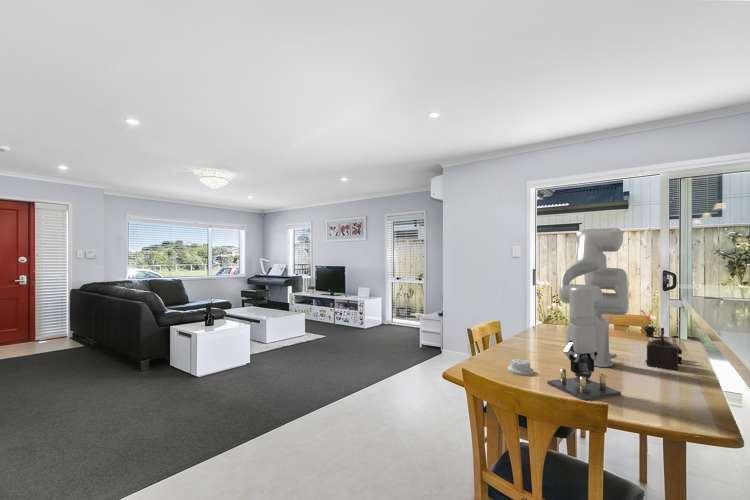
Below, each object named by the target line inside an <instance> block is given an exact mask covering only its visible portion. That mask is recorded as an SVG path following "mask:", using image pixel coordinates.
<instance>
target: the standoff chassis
mask: <svg viewBox="0 0 750 500" xmlns="http://www.w3.org/2000/svg"><path fill="white" fill-rule="evenodd" d="M559 371H560V378H559V379H551V380H547V385H549V386H551V387H553V388H556V389H557V390H559V391H561V392H564V393H566V394H568V395H570V396H572V397H575V398H577V399H579V400H581V401H583V400H586V401H593V400H597V399H605V398H611V397H612V398H613V397H620V396H622V392H621V391H619V390H617V389H614V388H612V387H610V386H606V385H607V384H606V382H607V379H606V374H604V373H599V382H598V381H594V380H591V379H590V378H589V379H588V380H590V381H591V383H590V384H586V377H584V376H580V383H578V382H576V381H574V379H576V378H578V377H576V376H575V377H567V369H566V368H560V370H559Z"/></svg>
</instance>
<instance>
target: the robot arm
mask: <svg viewBox="0 0 750 500" xmlns="http://www.w3.org/2000/svg"><path fill="white" fill-rule="evenodd" d="M575 240H576V244H577V246H576V247H577V248H576V253H575V255H576V256H575V261H574V263H572V264H571V265H570V266H568V267H567V268H566V269H565V271H563V273H562V275H561V278H560V281H559V289H558V296H559V297H558V298H559V300H560V301H561V302H562V303H564V304H569V324H567V329H566V332H565V334H566V335H565V348H564V350H563V354H564V355H565V356H566V357H567V359H568V360H569V361H570V372H571V373H577V374H579V362H578V359H579V355H580V354H587V361H588V362H587V368H588V370H589V371H591V372H592V373H593V372H595V367H599V368H609V367H614V362H613V361H612V359H617V358H618V355H617V354H616V353H610V331H609V330H610V328H609V322H608V321H607V320H606V319H605V318H604V316H603V315H609V316H625V315H627V313H628V312H629V282H628V275H627V272H626V270H624V269H623V268H618V267H607V256H606V254H605V252H606V253H608V252H609V253H612V252H613V253H615V252H618V251H619V250H620V249H621V247H622V245H623V241H624V235H623V231H622V230H621V229H620V228H618V227H610V228H608V227H607V228H605V227H603V228H586V229H585V228H584V229H581V230H579V231H577V232H576V233H575ZM583 275H584V284H580V283H579V284H575V283H573V284H572V283H571V282H572V281H573V280H575V279H576V278H578V277H581V276H583ZM603 290H607V291H609V290H611V291H614V292H604V291H603Z"/></svg>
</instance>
